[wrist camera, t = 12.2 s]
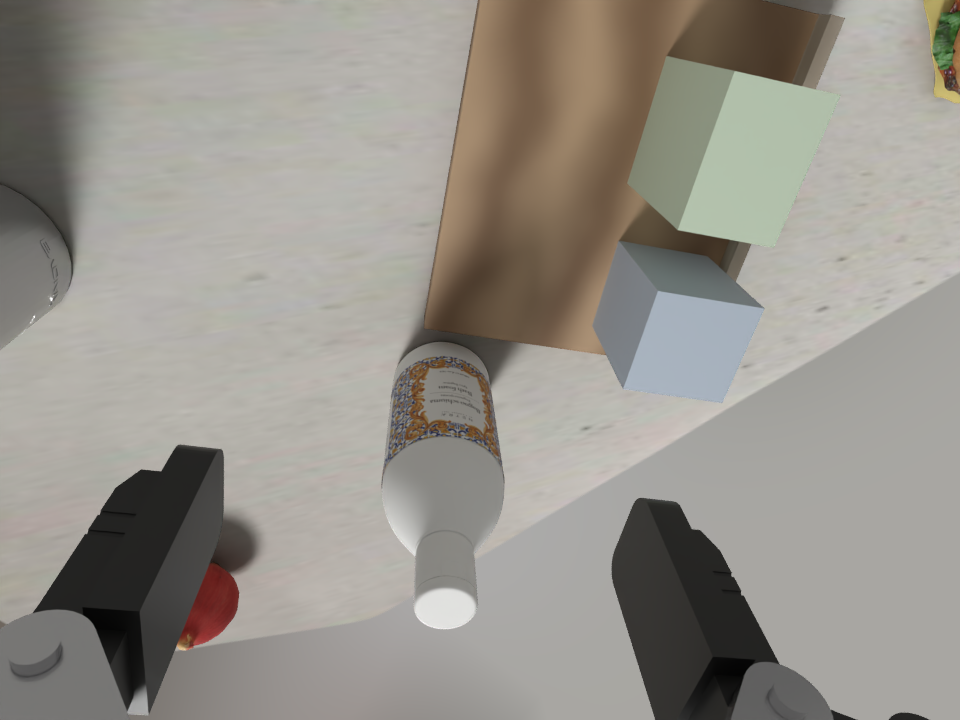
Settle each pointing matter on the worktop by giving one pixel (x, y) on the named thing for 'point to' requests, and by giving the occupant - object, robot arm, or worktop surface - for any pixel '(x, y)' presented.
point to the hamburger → (945, 46)
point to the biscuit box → (673, 322)
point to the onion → (210, 608)
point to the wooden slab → (581, 151)
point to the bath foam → (442, 475)
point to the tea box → (727, 150)
